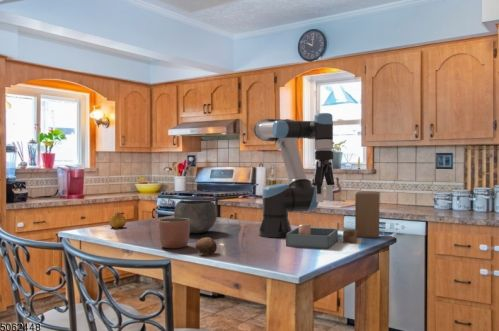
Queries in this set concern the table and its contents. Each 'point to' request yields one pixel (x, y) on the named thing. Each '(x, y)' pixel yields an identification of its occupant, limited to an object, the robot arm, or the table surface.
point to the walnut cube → (349, 236)
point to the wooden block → (367, 214)
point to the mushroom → (206, 246)
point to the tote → (312, 238)
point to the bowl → (197, 214)
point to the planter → (174, 232)
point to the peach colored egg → (305, 229)
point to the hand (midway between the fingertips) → (324, 201)
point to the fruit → (117, 220)
